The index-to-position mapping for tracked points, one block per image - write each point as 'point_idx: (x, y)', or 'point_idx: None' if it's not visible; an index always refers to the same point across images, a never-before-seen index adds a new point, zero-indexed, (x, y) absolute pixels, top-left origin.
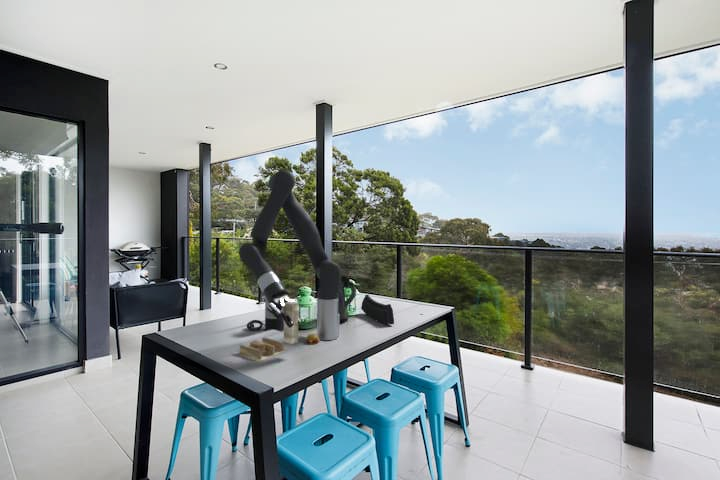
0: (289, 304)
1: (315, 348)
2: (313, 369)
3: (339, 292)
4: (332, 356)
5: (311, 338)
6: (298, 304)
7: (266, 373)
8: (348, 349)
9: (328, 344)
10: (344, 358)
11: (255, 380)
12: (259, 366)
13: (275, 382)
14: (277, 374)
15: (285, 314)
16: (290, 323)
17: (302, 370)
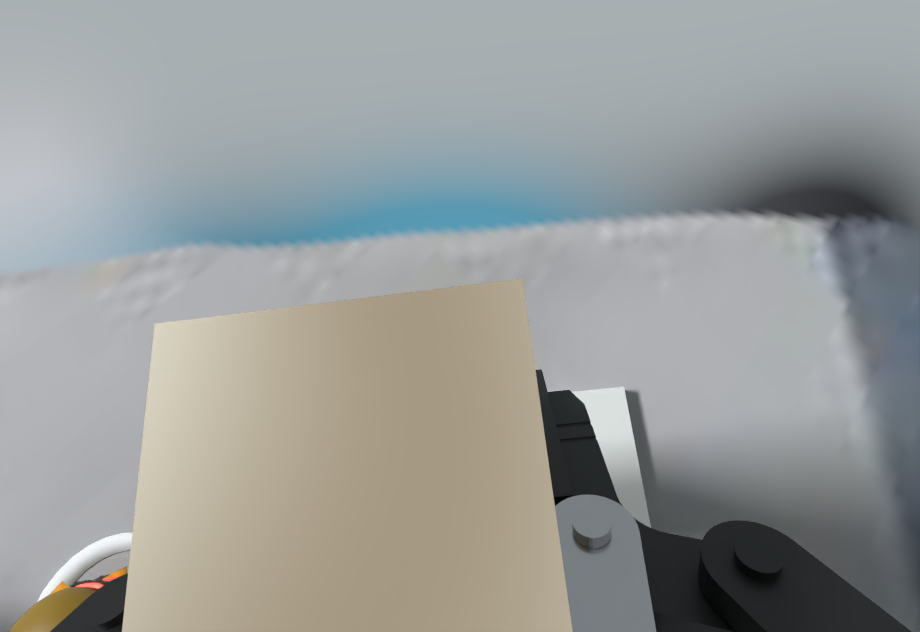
0: (548, 473)
1: None
2: (486, 254)
3: None
4: None
5: None
6: (194, 341)
7: (758, 426)
8: (66, 343)
9: (30, 548)
10: (228, 248)
11: (876, 383)
12: None
13: (780, 267)
14: (706, 356)
15: (627, 523)
16: (556, 399)
17: (545, 290)
